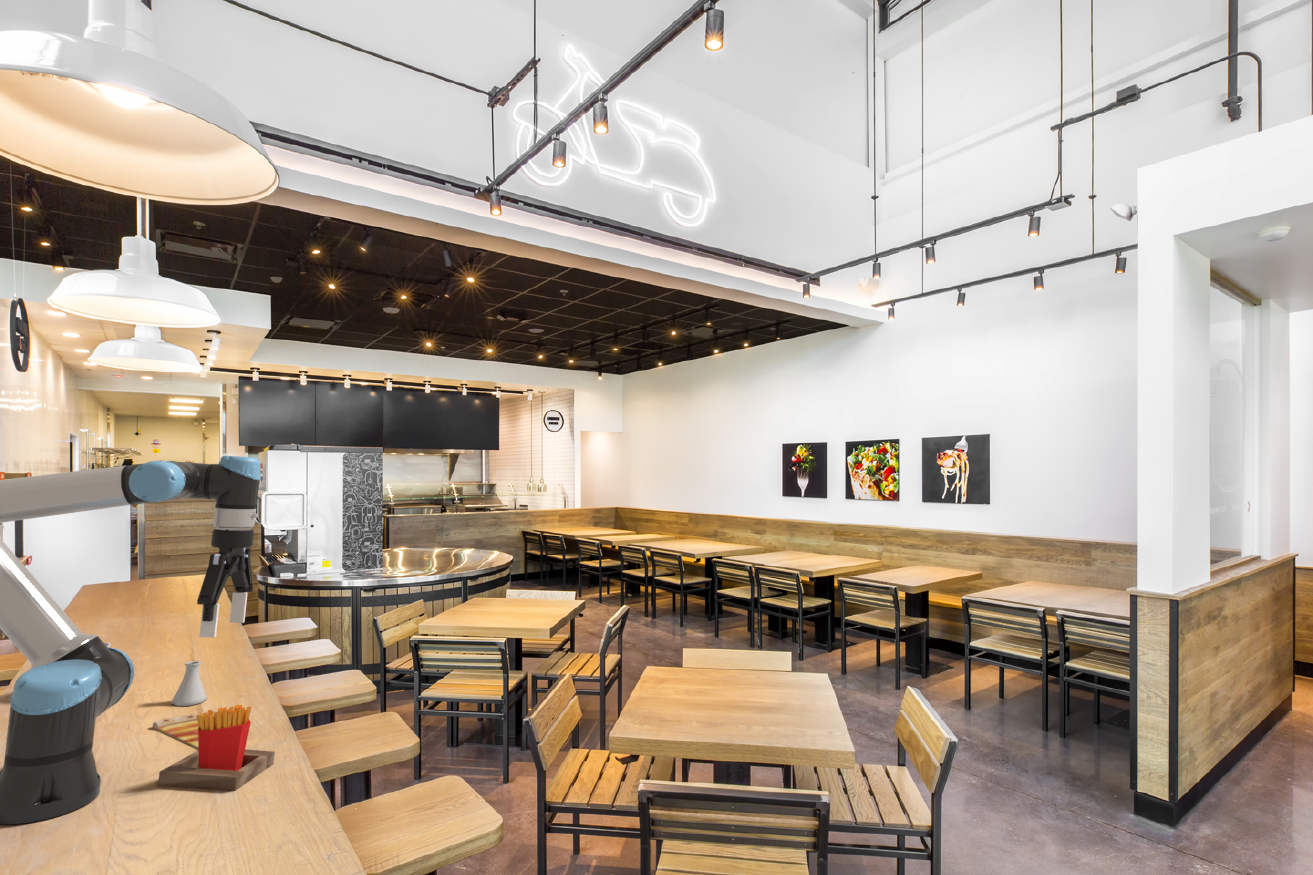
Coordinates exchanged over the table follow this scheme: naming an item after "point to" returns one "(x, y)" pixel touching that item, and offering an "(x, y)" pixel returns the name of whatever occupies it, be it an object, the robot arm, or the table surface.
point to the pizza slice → (181, 728)
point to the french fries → (223, 738)
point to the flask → (190, 687)
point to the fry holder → (215, 772)
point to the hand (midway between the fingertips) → (223, 629)
